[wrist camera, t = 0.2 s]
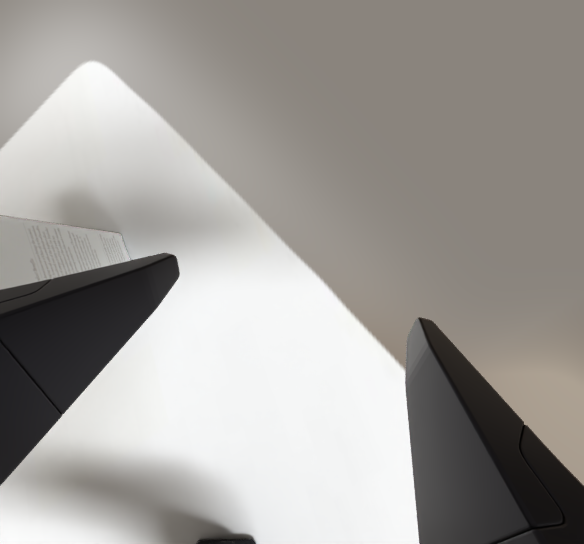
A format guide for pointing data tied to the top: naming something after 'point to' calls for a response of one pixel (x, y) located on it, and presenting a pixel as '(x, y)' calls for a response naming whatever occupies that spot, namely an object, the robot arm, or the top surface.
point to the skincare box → (53, 250)
